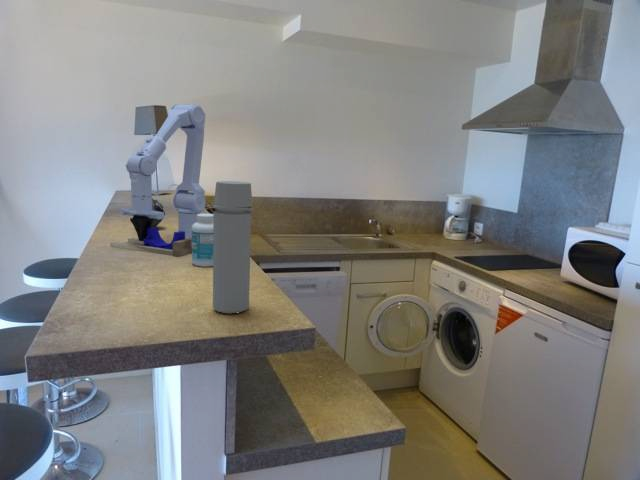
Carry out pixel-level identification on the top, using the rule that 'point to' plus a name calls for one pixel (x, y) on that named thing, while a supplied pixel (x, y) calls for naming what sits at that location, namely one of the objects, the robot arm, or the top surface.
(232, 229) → the water bottle
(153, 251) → the guide channel
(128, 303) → the top surface
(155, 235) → the blue cradle block
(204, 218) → the pill bottle
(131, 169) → the robot arm
